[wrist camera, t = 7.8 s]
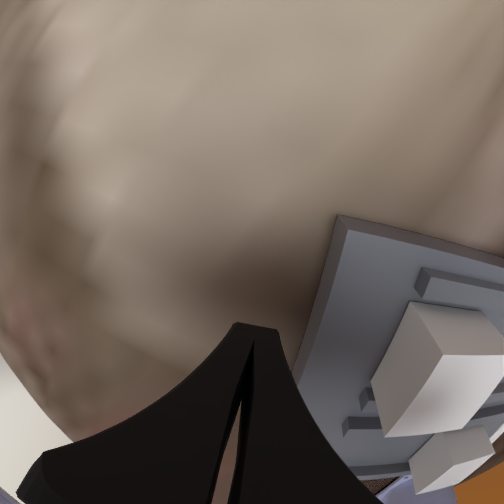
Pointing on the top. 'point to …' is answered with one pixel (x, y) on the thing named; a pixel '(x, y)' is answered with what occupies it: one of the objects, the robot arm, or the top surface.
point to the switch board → (384, 333)
